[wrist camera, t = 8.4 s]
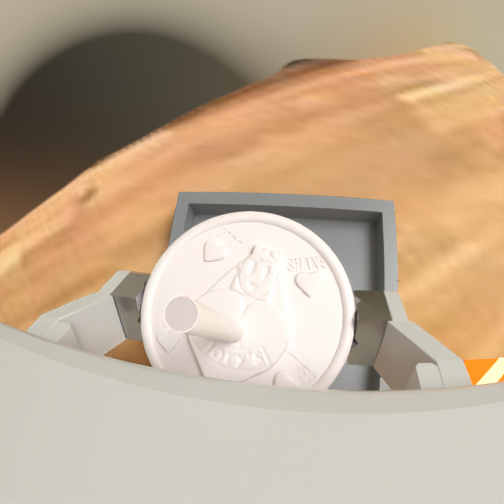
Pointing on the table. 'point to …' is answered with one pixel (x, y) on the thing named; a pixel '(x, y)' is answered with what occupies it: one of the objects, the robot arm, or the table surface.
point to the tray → (330, 231)
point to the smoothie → (249, 304)
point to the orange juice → (485, 370)
